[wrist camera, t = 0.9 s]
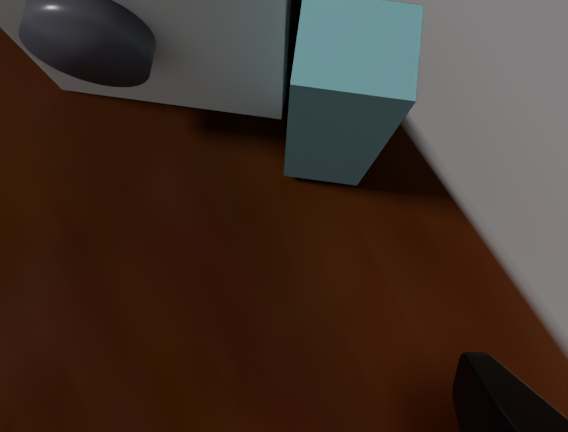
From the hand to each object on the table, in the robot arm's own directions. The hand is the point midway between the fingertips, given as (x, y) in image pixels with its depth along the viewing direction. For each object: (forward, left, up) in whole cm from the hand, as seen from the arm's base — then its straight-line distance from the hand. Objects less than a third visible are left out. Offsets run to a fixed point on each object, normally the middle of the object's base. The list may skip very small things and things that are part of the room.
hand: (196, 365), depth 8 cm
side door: (+13, -3, -12) cm, 18 cm away
